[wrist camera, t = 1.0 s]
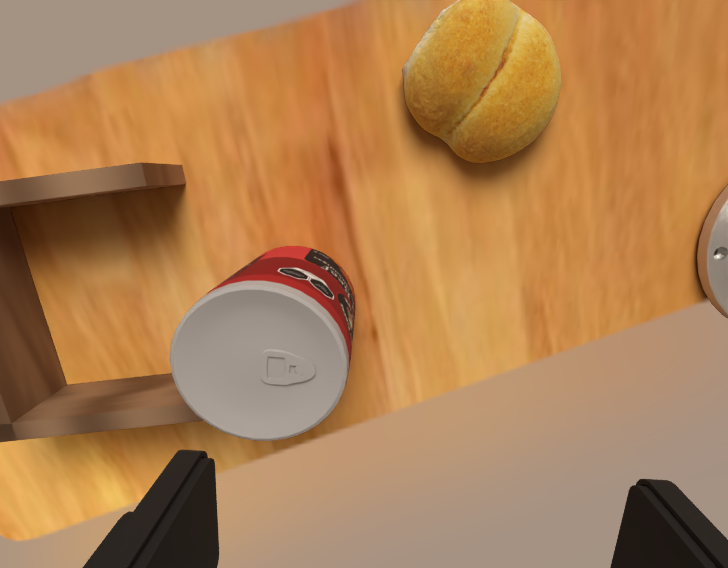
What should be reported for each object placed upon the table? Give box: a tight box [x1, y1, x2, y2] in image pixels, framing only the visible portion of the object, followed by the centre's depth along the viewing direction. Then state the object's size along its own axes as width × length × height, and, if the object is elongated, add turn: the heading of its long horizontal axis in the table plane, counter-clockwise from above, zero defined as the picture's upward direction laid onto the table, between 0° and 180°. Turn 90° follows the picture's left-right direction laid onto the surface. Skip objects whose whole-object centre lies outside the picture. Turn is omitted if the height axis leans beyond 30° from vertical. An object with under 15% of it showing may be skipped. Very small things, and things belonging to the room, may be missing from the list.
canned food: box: [170, 246, 355, 441], centre depth 24 cm, size 8×8×11 cm
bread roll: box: [402, 0, 561, 163], centre depth 24 cm, size 8×9×4 cm
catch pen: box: [0, 163, 204, 442], centre depth 27 cm, size 13×15×5 cm
